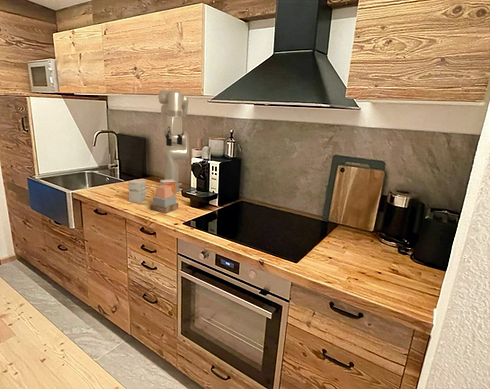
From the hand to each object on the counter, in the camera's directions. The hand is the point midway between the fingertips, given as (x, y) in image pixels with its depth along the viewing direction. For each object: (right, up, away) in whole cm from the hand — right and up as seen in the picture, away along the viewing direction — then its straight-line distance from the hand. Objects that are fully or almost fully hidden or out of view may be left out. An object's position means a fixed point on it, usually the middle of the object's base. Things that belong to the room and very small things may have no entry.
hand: (174, 145), depth 171 cm
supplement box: (-25, -33, +12) cm, 43 cm away
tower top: (-6, -34, -1) cm, 34 cm away
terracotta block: (-6, -30, -1) cm, 30 cm away
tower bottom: (-6, -37, +1) cm, 38 cm away
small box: (-8, -33, +16) cm, 37 cm away
